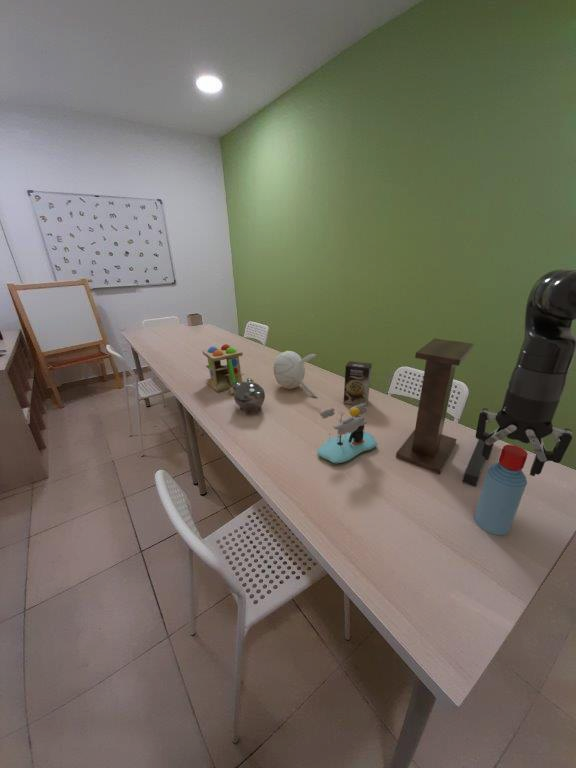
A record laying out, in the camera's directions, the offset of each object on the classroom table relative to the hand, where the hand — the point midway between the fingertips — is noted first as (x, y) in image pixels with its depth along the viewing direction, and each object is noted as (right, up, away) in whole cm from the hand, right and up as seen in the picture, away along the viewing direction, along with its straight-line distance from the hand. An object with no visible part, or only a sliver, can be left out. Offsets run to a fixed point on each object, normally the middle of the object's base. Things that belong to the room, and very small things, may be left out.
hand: (508, 465), depth 60 cm
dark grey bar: (+10, -6, +26) cm, 28 cm away
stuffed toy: (-41, +14, +74) cm, 85 cm away
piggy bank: (-59, +6, +58) cm, 83 cm away
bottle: (+1, -14, +6) cm, 16 cm away
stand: (-2, -4, +31) cm, 31 cm away
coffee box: (-17, +9, +61) cm, 64 cm away
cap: (0, 0, 0) cm, 0 cm away
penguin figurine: (-26, -4, +32) cm, 41 cm away
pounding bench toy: (-71, +15, +79) cm, 107 cm away
